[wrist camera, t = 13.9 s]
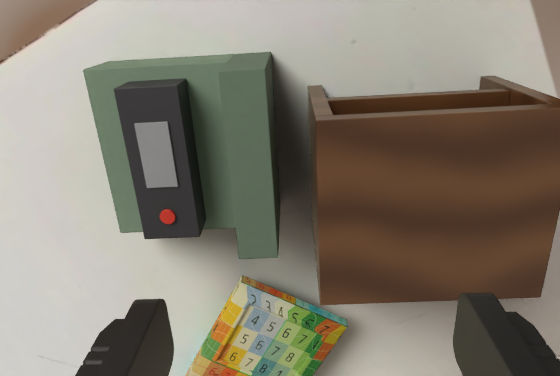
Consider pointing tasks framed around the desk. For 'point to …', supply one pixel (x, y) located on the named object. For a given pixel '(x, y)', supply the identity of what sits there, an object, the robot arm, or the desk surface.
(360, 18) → the desk surface
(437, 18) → the desk surface
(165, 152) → the remote
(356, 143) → the shelf
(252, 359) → the puzzle game
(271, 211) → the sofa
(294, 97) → the desk surface
